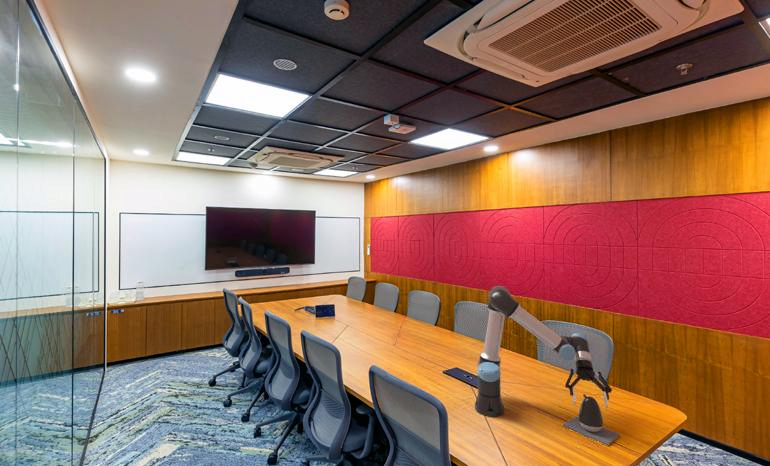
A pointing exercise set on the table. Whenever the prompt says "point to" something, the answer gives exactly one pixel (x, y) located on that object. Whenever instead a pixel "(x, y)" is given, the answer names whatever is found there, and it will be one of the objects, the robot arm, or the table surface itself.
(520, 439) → the table surface
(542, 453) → the table surface
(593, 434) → the mat
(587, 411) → the pump dispenser
